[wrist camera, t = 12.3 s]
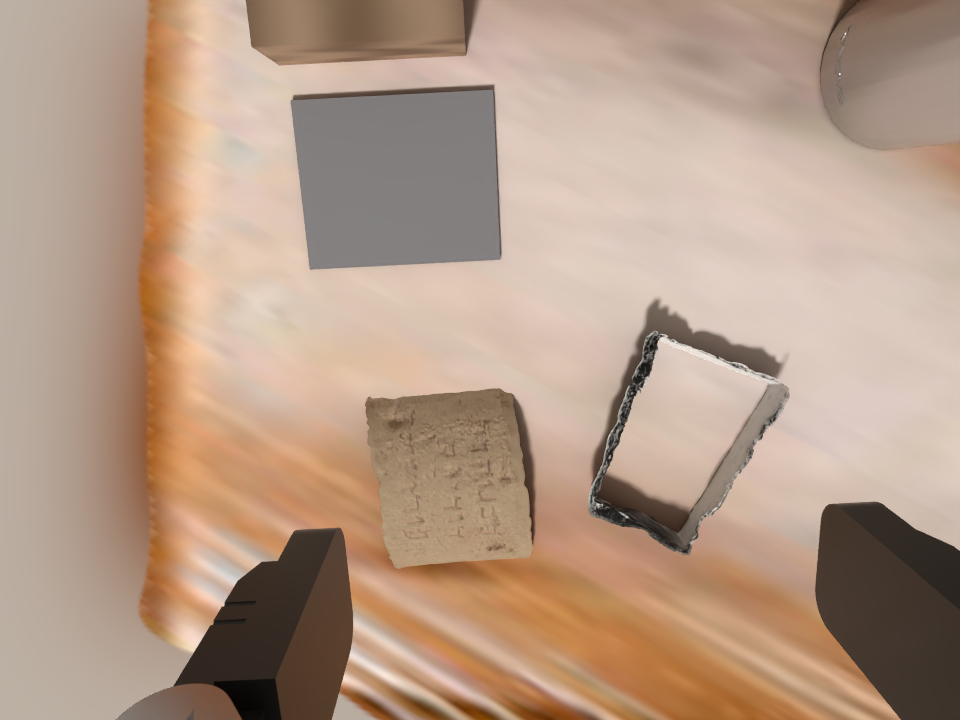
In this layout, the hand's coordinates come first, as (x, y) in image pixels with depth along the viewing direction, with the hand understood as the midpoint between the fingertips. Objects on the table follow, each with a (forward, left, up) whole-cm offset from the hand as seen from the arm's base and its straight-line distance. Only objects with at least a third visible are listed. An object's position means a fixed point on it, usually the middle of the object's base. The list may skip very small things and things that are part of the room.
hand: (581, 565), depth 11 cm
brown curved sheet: (+4, +13, -33) cm, 36 cm away
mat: (+6, -7, -32) cm, 33 cm away
